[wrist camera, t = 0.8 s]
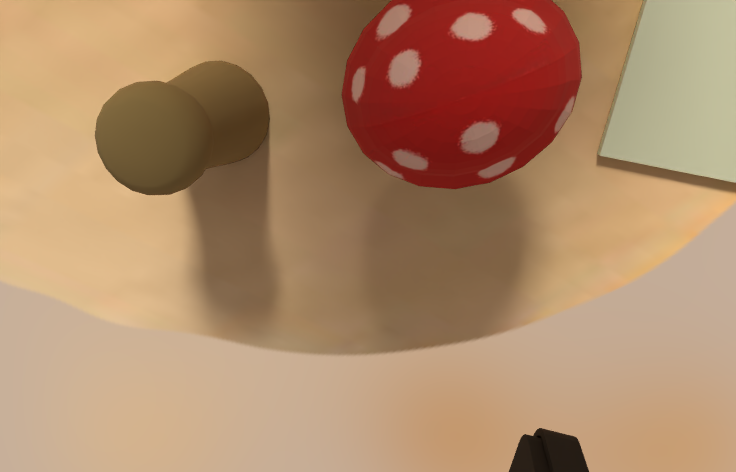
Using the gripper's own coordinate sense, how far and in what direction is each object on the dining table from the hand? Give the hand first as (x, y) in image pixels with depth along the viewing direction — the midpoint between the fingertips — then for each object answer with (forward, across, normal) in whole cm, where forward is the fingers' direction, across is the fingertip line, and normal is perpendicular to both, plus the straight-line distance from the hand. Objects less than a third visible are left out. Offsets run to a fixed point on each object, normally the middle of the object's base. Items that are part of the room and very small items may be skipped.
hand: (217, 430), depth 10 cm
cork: (+30, +10, +1) cm, 31 cm away
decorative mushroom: (+30, -3, -4) cm, 30 cm away
